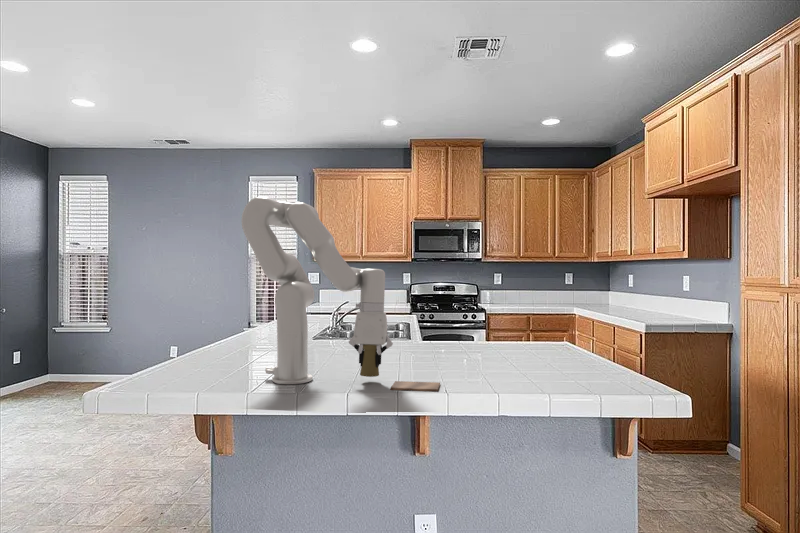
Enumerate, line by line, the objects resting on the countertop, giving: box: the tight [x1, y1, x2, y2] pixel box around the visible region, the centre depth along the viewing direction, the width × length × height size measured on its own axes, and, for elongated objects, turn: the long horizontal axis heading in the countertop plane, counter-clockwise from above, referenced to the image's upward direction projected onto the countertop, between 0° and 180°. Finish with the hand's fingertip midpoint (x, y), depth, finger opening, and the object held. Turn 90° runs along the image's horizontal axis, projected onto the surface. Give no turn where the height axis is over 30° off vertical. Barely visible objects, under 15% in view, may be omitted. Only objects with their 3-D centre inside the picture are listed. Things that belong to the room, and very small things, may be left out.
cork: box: [359, 345, 380, 378], centre depth 166 cm, size 6×6×11 cm
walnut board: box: [390, 380, 441, 392], centre depth 159 cm, size 14×9×1 cm, turn 82°
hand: (369, 365), depth 166 cm, fingers closed on cork, 4 cm apart
